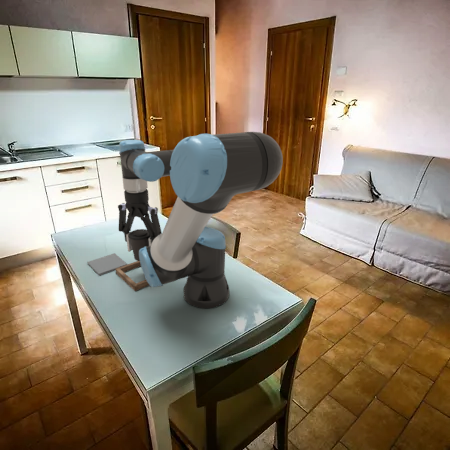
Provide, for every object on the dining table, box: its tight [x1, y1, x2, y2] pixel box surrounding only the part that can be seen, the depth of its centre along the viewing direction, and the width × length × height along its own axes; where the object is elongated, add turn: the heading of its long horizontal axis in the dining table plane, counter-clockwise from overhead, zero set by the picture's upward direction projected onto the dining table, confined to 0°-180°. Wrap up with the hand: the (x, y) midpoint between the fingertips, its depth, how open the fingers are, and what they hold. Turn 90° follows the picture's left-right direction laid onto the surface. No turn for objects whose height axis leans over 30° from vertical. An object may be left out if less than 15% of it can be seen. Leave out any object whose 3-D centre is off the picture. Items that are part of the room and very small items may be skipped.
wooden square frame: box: [115, 260, 150, 292], centre depth 116 cm, size 14×14×3 cm
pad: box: [86, 253, 128, 277], centre depth 122 cm, size 11×11×1 cm
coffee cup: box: [128, 228, 150, 261], centre depth 111 cm, size 8×8×10 cm
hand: (141, 251), depth 112 cm, fingers closed on coffee cup, 8 cm apart
